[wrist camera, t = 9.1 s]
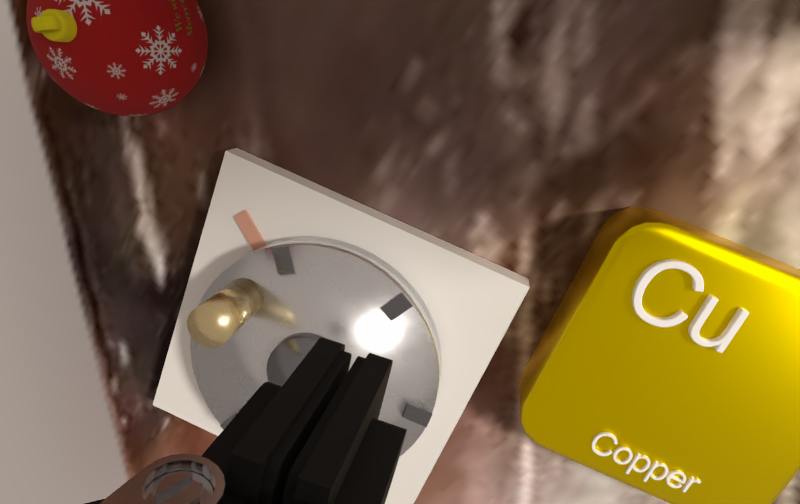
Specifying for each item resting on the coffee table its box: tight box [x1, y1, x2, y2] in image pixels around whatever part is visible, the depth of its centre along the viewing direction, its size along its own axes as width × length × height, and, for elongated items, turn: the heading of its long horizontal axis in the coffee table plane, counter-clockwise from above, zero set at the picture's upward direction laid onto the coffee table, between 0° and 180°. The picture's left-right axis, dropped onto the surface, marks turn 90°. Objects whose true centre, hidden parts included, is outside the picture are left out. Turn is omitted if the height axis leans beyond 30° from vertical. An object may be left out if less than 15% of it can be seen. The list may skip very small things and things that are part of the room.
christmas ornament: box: [26, 0, 208, 116], centre depth 29 cm, size 9×9×10 cm
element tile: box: [520, 207, 800, 504], centre depth 32 cm, size 15×15×5 cm
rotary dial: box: [187, 236, 442, 457], centre depth 33 cm, size 16×16×6 cm
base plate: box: [153, 148, 530, 504], centre depth 37 cm, size 20×20×2 cm
